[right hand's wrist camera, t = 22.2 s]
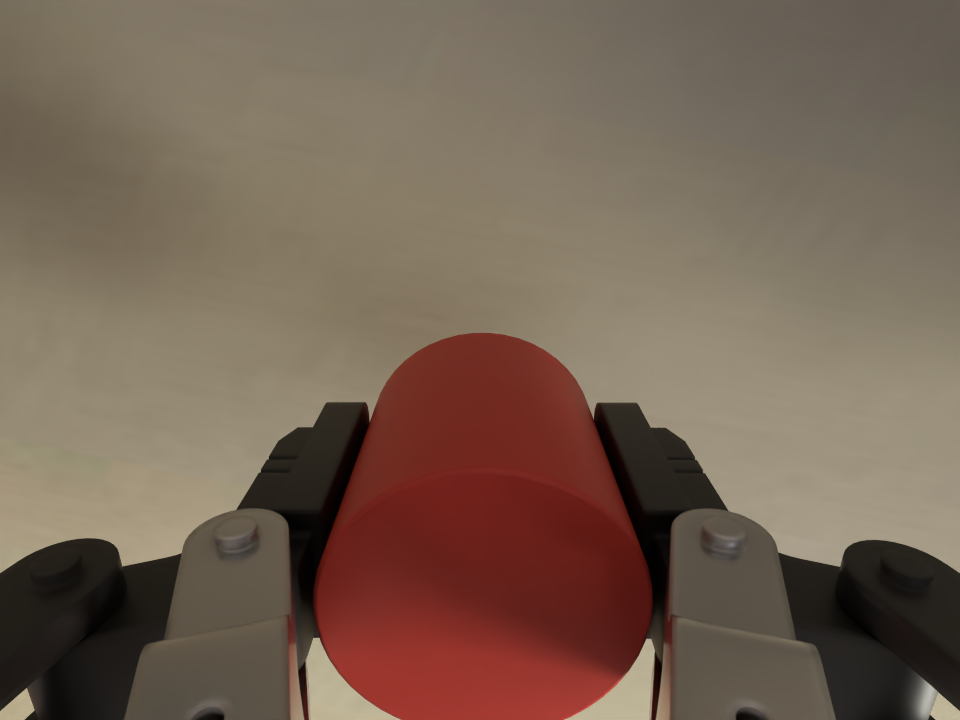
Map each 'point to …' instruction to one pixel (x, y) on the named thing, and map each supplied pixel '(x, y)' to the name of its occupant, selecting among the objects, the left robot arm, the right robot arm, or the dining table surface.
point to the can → (482, 544)
